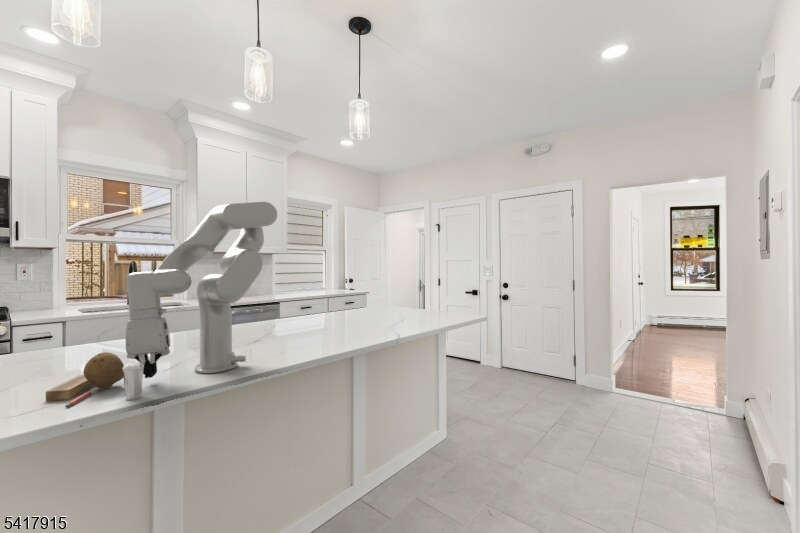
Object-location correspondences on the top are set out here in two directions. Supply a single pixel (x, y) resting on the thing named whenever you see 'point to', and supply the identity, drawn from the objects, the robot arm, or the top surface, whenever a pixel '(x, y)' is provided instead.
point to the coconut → (104, 370)
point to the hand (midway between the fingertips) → (150, 376)
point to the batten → (68, 389)
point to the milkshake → (133, 380)
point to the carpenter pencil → (78, 399)
